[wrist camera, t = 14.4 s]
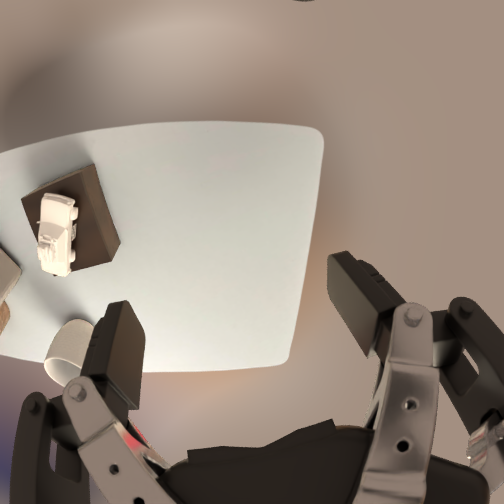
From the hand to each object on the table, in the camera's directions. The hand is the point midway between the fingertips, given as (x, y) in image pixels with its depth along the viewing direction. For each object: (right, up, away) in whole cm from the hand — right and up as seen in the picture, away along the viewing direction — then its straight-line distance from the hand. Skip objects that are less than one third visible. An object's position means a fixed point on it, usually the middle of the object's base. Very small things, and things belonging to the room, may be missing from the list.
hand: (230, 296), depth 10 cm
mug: (-36, -16, +39) cm, 55 cm away
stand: (-28, +8, +27) cm, 40 cm away
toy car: (-27, +5, +22) cm, 35 cm away
